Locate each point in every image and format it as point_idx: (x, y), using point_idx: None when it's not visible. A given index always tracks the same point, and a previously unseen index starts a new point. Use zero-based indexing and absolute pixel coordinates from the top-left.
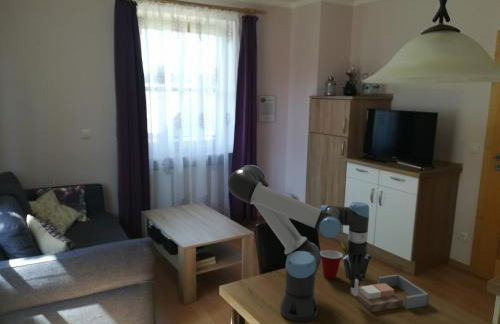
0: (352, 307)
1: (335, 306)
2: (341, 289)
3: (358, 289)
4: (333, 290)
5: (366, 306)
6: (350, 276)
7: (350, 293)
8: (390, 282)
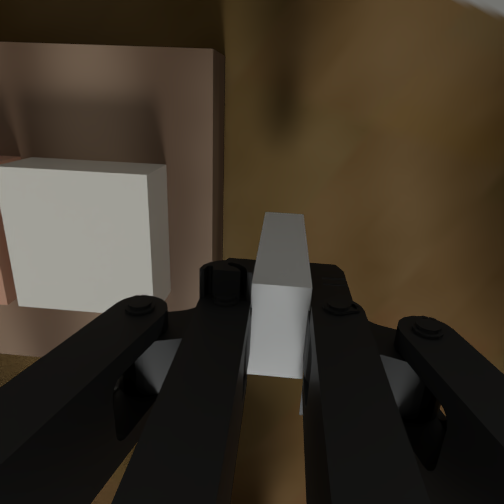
0: (324, 177)
1: (448, 237)
2: None
3: None
4: None
5: (220, 122)
6: (449, 361)
7: None
8: None
